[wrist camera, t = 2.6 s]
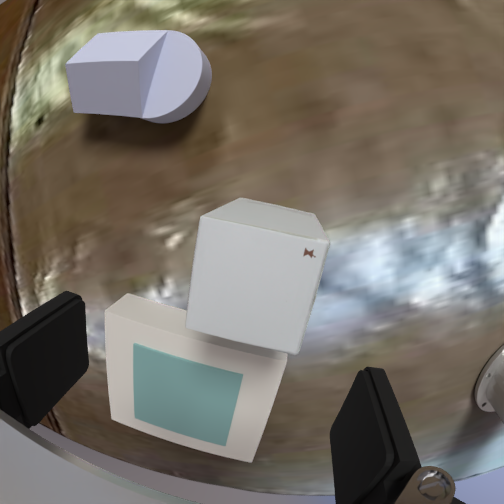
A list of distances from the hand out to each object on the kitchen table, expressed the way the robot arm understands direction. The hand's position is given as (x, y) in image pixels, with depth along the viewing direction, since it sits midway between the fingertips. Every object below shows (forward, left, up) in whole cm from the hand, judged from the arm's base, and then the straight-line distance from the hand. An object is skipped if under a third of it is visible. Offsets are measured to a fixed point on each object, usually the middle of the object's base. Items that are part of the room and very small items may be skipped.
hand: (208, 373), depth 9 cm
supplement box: (0, 0, -21) cm, 21 cm away
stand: (+5, +17, -21) cm, 27 cm away
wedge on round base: (+15, -14, -21) cm, 29 cm away
